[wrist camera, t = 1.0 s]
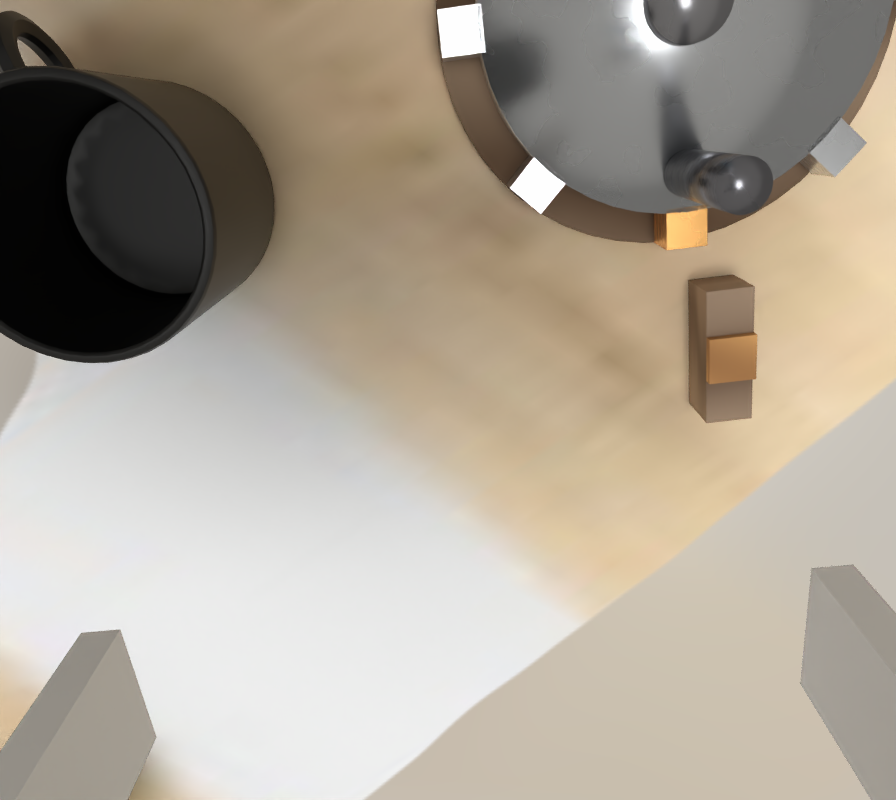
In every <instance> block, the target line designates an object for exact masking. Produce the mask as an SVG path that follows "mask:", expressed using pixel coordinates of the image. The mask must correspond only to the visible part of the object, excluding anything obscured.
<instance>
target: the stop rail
mask: <svg viewBox="0 0 896 800" xmlns="http://www.w3.org/2000/svg"><path fill="white" fill-rule="evenodd" d="M754 292H755V286H753V285H751V284H749V283H747V282H746V281H744V280H742V279H740V278H738V277H736V276H735V275H727V276H719V277H710V278H702V279H694V280H689V397H690V404H691V405H692V407H693V408H694V409H695V410H696V411H697V412H698V414H699V415H700V416H701V417H702V418H703V420H704V421H705V422H706V423H711V422H720V421H729V420H738V419H747V418H751V417H752V379H756V361H757V334H755V333H754Z"/></svg>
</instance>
